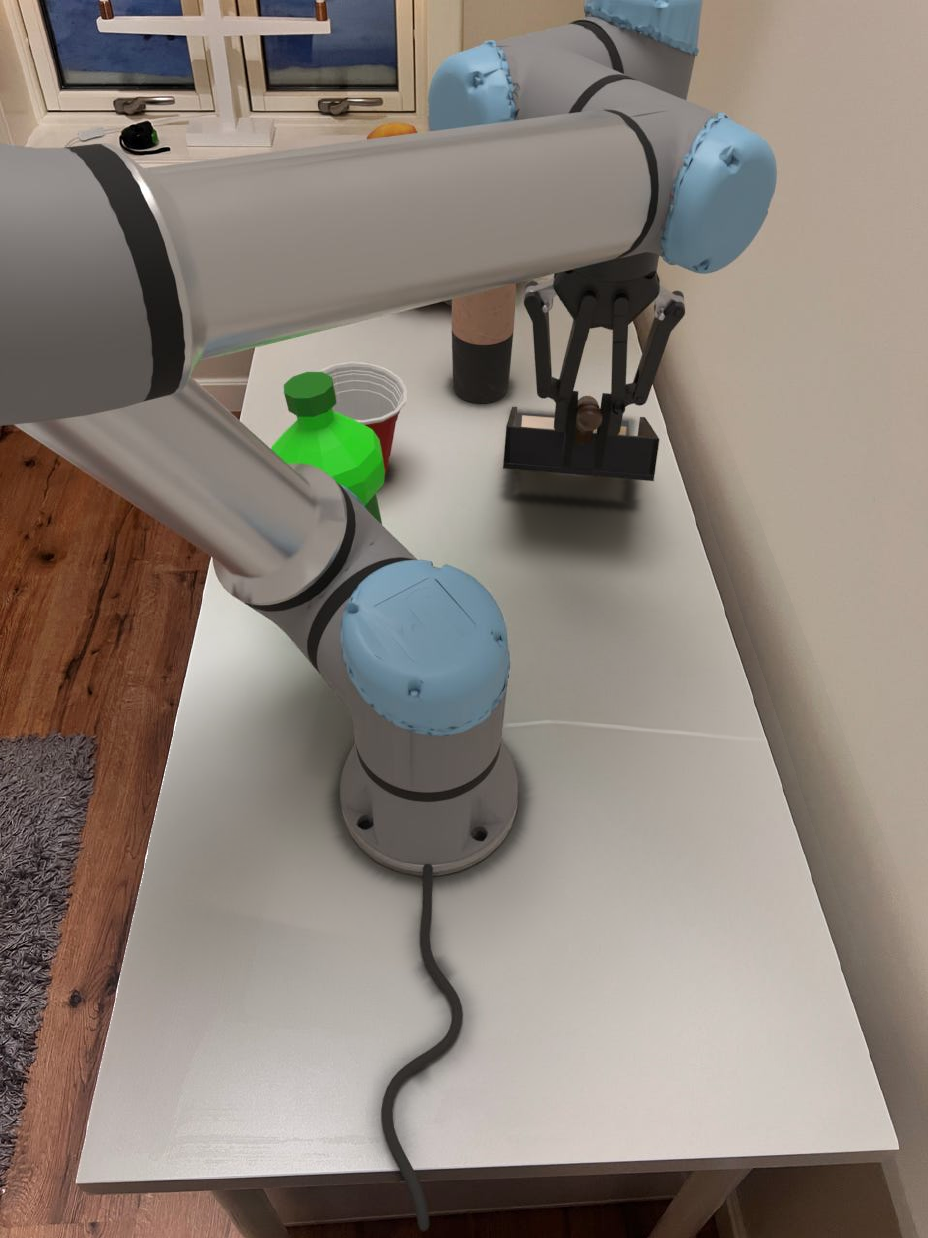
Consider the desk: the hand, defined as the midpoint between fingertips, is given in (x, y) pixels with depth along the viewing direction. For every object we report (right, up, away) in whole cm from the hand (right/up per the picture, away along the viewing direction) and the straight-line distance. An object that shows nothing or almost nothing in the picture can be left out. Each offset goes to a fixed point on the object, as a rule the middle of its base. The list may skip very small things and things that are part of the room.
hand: (582, 458), depth 89 cm
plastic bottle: (-22, -13, +8) cm, 27 cm away
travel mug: (-9, +15, +34) cm, 38 cm away
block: (-3, +6, +20) cm, 21 cm away
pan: (0, 0, +7) cm, 7 cm away
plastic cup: (-23, +2, +22) cm, 32 cm away
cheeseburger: (-23, +61, +75) cm, 99 cm away
